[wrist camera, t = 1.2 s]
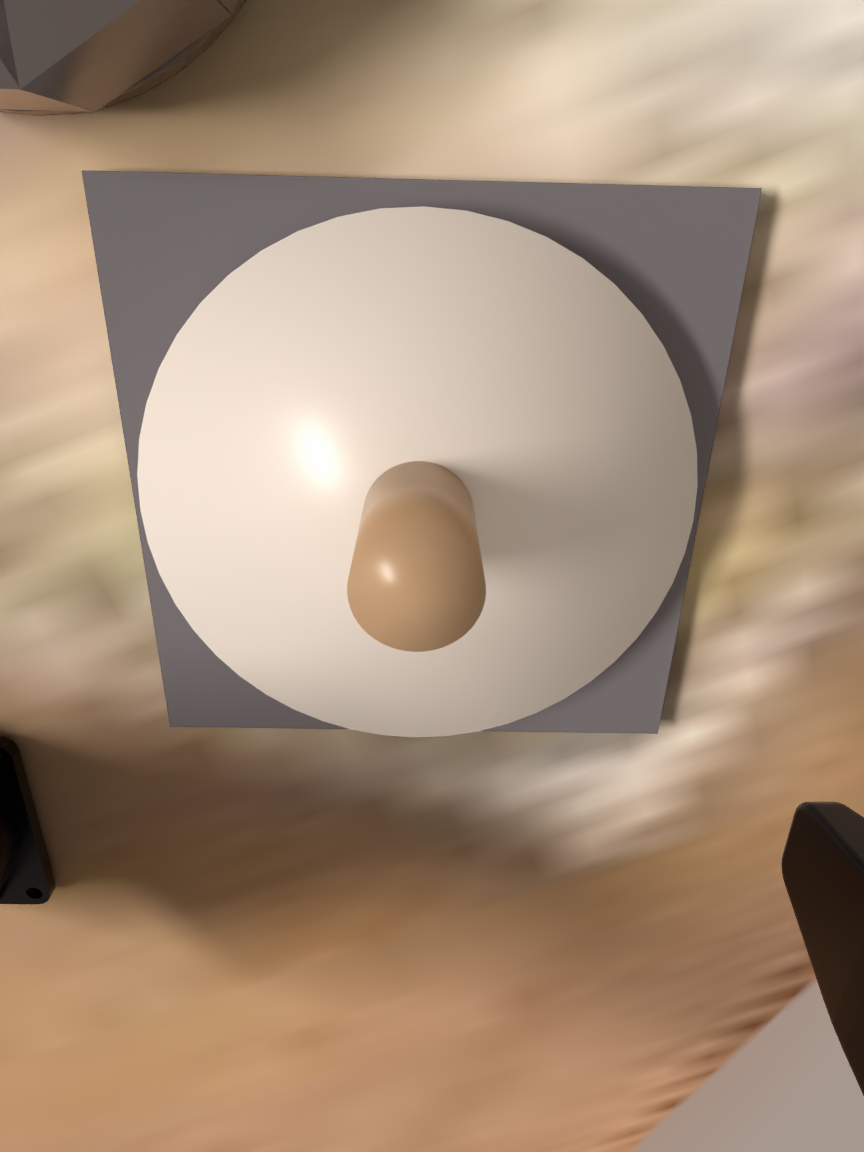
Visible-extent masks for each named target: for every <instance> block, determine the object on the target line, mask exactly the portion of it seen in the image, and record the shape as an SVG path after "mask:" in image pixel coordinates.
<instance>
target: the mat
mask: <svg viewBox="0 0 864 1152" xmlns="http://www.w3.org/2000/svg"><path fill="white" fill-rule="evenodd" d="M82 175H83V182H84V188H85V194H86V201H87V207H88V213H89V219H90V226H91V232H92V238H93V245H94V251H95V257H96V263H97V270H98V276H99V282H100V289H101V295H102V301H103V307H104V314H105V320H106V326H107V333H108V339H109V345H110V351H111V358H112V364H113V370H114V377H115V383H116V389H117V395H118V402H119V408H120V414H121V420H122V427H123V433H124V439H125V446H126V452H127V458H128V464H129V471H130V477H131V483H132V490H133V496H134V502H135V508H136V515H137V521H138V527H139V534H140V540H141V546H142V552H143V559H144V565H145V571H146V578H147V584H148V590H149V596H150V603H151V609H152V615H153V621H154V628H155V634H156V640H157V647H158V653H159V659H160V665H161V672H162V678H163V684H164V691H165V697H166V703H167V709H168V716H169V722H170V727H238V728H306V729H348V728H345V727H341V726H338V725H334V724H331V723H327V722H324V721H321V720H318V719H316V718H314V717H311V716H309V715H306V714H304V713H301V712H299V711H296V710H294V709H292V708H290V707H288V706H286V705H285V704H283V703H281V702H279V701H277V700H275V699H274V698H272V697H270V696H268V695H266V694H265V693H263V692H262V691H260V690H259V689H257V688H256V687H255V686H253V685H252V684H250V683H249V682H247V681H246V680H244V679H243V678H242V677H240V676H239V675H238V674H237V673H236V672H234V671H233V670H232V669H231V668H230V667H229V666H228V665H226V664H225V663H224V662H223V661H222V660H221V659H220V658H218V657H217V656H216V655H215V654H214V653H213V652H212V650H211V649H210V648H209V647H208V646H207V645H206V644H205V643H204V641H203V640H202V639H201V638H200V637H199V636H198V635H197V634H196V633H195V631H194V630H193V629H192V627H191V626H190V625H189V623H188V622H187V620H186V619H185V617H184V616H183V614H182V613H181V612H180V610H179V609H178V607H177V606H176V604H175V603H174V601H173V599H172V597H171V595H170V593H169V591H168V589H167V588H166V586H165V584H164V582H163V580H162V578H161V576H160V574H159V572H158V569H157V566H156V564H155V561H154V558H153V555H152V553H151V550H150V547H149V545H148V541H147V537H146V533H145V528H144V524H143V519H142V515H141V511H140V501H139V489H138V478H137V469H138V451H139V437H140V432H141V427H142V422H143V417H144V412H145V407H146V403H147V400H148V397H149V394H150V391H151V389H152V386H153V383H154V380H155V377H156V375H157V372H158V369H159V367H160V365H161V363H162V361H163V359H164V358H165V356H166V354H167V352H168V350H169V348H170V346H171V344H172V343H173V341H174V339H175V337H176V335H177V334H178V332H179V331H180V329H181V328H182V327H183V325H184V324H185V323H186V321H187V320H188V319H189V317H190V316H191V315H192V313H193V312H194V311H195V309H196V308H197V307H198V305H199V304H200V303H201V302H202V301H203V300H204V299H205V298H206V297H207V296H208V295H209V294H210V293H211V292H212V291H213V290H214V289H215V288H216V287H217V286H218V285H219V284H220V283H221V282H222V281H223V280H224V279H225V278H226V277H227V276H228V275H229V274H230V273H231V272H233V271H234V270H236V269H237V268H238V267H240V266H241V265H242V264H244V263H245V262H246V261H248V260H249V259H250V258H252V257H253V256H255V255H256V254H257V253H259V252H260V251H261V250H263V249H265V248H267V247H269V246H271V245H273V244H274V243H276V242H278V241H280V240H282V239H284V238H286V237H288V236H290V235H291V234H293V233H295V232H297V231H299V230H302V229H305V228H308V227H311V226H313V225H316V224H319V223H322V222H325V221H328V220H330V219H333V218H336V217H339V216H344V215H349V214H354V213H360V212H365V211H370V210H375V209H380V208H399V207H421V206H425V207H435V208H445V209H455V210H466V211H470V212H474V213H478V214H482V215H486V216H490V217H494V218H498V219H502V220H506V221H509V222H512V223H514V224H517V225H519V226H522V227H524V228H526V229H529V230H531V231H534V232H536V233H539V234H541V235H543V236H546V237H548V238H550V239H551V240H553V241H555V242H556V243H558V244H560V245H561V246H563V247H565V248H567V249H568V250H570V251H572V252H573V253H575V254H577V255H578V256H580V257H582V258H583V259H584V260H586V261H587V262H588V263H589V264H591V265H592V266H593V267H594V268H596V269H597V270H598V271H599V272H601V273H602V274H603V275H604V276H605V277H607V278H608V279H609V280H610V281H612V282H613V283H614V284H615V285H616V286H617V287H618V288H619V289H620V290H621V291H622V293H623V294H624V295H625V296H626V297H627V298H628V299H629V300H630V301H631V302H632V303H633V305H634V306H635V307H636V308H637V309H638V310H639V311H640V312H641V313H642V315H643V316H644V318H645V319H646V321H647V322H648V323H649V325H650V326H651V328H652V329H653V331H654V332H655V334H656V335H657V337H658V338H659V340H660V341H661V343H662V344H663V346H664V348H665V350H666V352H667V354H668V356H669V358H670V360H671V362H672V364H673V366H674V368H675V370H676V372H677V375H678V377H679V379H680V381H681V384H682V388H683V391H684V394H685V397H686V400H687V404H688V407H689V410H690V413H691V417H692V424H693V430H694V436H695V442H696V448H697V479H698V487H697V495H696V504H695V512H694V520H693V524H692V528H691V532H690V536H689V540H688V543H687V547H686V551H685V554H684V557H683V559H682V562H681V564H680V567H679V569H678V571H677V574H676V576H675V579H674V581H673V584H672V585H671V587H670V589H669V591H668V593H667V594H666V596H665V598H664V600H663V601H662V603H661V605H660V607H659V609H658V610H657V612H656V613H655V615H654V616H653V617H652V619H651V620H650V621H649V623H648V624H647V626H646V627H645V628H644V630H643V631H642V632H641V634H640V635H639V636H638V638H637V639H636V640H635V641H634V642H633V643H632V644H631V645H630V646H629V647H628V648H627V649H626V650H625V651H624V653H623V654H622V655H621V656H620V657H619V658H618V659H617V660H616V661H615V662H614V663H612V664H611V665H610V666H609V667H608V668H606V669H605V670H604V671H603V672H602V673H600V674H599V675H598V676H597V677H596V678H594V679H593V680H592V681H591V682H589V683H588V684H586V685H585V686H583V687H582V688H580V689H579V690H577V691H576V692H574V693H573V694H571V695H570V696H568V697H566V698H565V699H563V700H561V701H559V702H557V703H555V704H553V705H551V706H549V707H547V708H545V709H543V710H541V711H539V712H537V713H535V714H532V715H530V716H527V717H524V718H522V719H519V720H516V721H514V722H511V723H508V724H505V725H501V726H497V727H493V728H489V729H485V730H482V731H511V732H580V733H648V734H658V729H659V724H660V719H661V713H662V708H663V703H664V698H665V692H666V687H667V682H668V677H669V671H670V666H671V661H672V656H673V650H674V645H675V640H676V635H677V630H678V624H679V619H680V614H681V609H682V603H683V598H684V593H685V588H686V582H687V577H688V572H689V567H690V561H691V556H692V551H693V546H694V541H695V535H696V530H697V525H698V520H699V514H700V509H701V504H702V499H703V493H704V488H705V483H706V478H707V472H708V467H709V462H710V457H711V452H712V446H713V441H714V436H715V431H716V425H717V420H718V415H719V410H720V404H721V399H722V394H723V389H724V384H725V378H726V373H727V368H728V363H729V357H730V352H731V347H732V342H733V336H734V331H735V326H736V321H737V315H738V310H739V305H740V300H741V295H742V289H743V284H744V279H745V274H746V268H747V263H748V258H749V253H750V247H751V242H752V237H753V232H754V226H755V221H756V216H757V211H758V206H759V200H760V195H761V190H762V188H728V187H690V186H652V185H614V184H576V183H538V182H500V181H462V180H424V179H386V178H348V177H309V176H271V175H233V174H195V173H157V172H119V171H82Z"/></svg>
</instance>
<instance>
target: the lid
mask: <svg viewBox="0 0 864 1152" xmlns="http://www.w3.org/2000/svg"><path fill="white" fill-rule="evenodd" d="M137 478H138V489H139V501H140V511H141V515H142V519H143V524H144V528H145V533H146V537H147V541H148V545H149V547H150V550H151V553H152V555H153V558H154V561H155V564H156V566H157V569H158V572H159V574H160V576H161V578H162V580H163V582H164V584H165V586H166V588H167V589H168V591H169V593H170V595H171V597H172V599H173V601H174V603H175V604H176V606H177V607H178V609H179V610H180V612H181V613H182V614H183V616H184V617H185V619H186V620H187V622H188V623H189V625H190V626H191V627H192V629H193V630H194V631H195V633H196V634H197V635H198V636H199V637H200V638H201V639H202V640H203V641H204V643H205V644H206V645H207V646H208V647H209V648H210V649H211V650H212V652H213V653H214V654H215V655H216V656H217V657H218V658H220V659H221V660H222V661H223V662H224V663H225V664H226V665H228V666H229V667H230V668H231V669H232V670H233V671H234V672H236V673H237V674H238V675H239V676H240V677H242V678H243V679H244V680H246V681H247V682H249V683H250V684H252V685H253V686H255V687H256V688H257V689H259V690H260V691H262V692H263V693H265V694H266V695H268V696H270V697H272V698H274V699H275V700H277V701H279V702H281V703H283V704H285V705H286V706H288V707H290V708H292V709H294V710H296V711H299V712H301V713H304V714H306V715H309V716H311V717H314V718H316V719H318V720H321V721H324V722H327V723H331V724H334V725H338V726H341V727H345V728H348V729H352V730H356V731H362V732H368V733H374V734H379V735H387V736H402V737H438V736H451V735H458V734H464V733H471V732H478V731H482V730H485V729H489V728H493V727H497V726H501V725H505V724H508V723H511V722H514V721H516V720H519V719H522V718H524V717H527V716H530V715H532V714H535V713H537V712H539V711H541V710H543V709H545V708H547V707H549V706H551V705H553V704H555V703H557V702H559V701H561V700H563V699H565V698H566V697H568V696H570V695H571V694H573V693H574V692H576V691H577V690H579V689H580V688H582V687H583V686H585V685H586V684H588V683H589V682H591V681H592V680H593V679H594V678H596V677H597V676H598V675H599V674H600V673H602V672H603V671H604V670H605V669H606V668H608V667H609V666H610V665H611V664H612V663H614V662H615V661H616V660H617V659H618V658H619V657H620V656H621V655H622V654H623V653H624V651H625V650H626V649H627V648H628V647H629V646H630V645H631V644H632V643H633V642H634V641H635V640H636V639H637V638H638V636H639V635H640V634H641V632H642V631H643V630H644V628H645V627H646V626H647V624H648V623H649V621H650V620H651V619H652V617H653V616H654V615H655V613H656V612H657V610H658V609H659V607H660V605H661V603H662V601H663V600H664V598H665V596H666V594H667V593H668V591H669V589H670V587H671V585H672V584H673V581H674V579H675V576H676V574H677V571H678V569H679V567H680V564H681V562H682V559H683V557H684V554H685V551H686V547H687V543H688V540H689V536H690V532H691V528H692V524H693V520H694V512H695V504H696V495H697V487H698V479H697V448H696V442H695V436H694V430H693V424H692V417H691V413H690V410H689V407H688V404H687V400H686V397H685V394H684V391H683V388H682V384H681V381H680V379H679V377H678V375H677V372H676V370H675V368H674V366H673V364H672V362H671V360H670V358H669V356H668V354H667V352H666V350H665V348H664V346H663V344H662V343H661V341H660V340H659V338H658V337H657V335H656V334H655V332H654V331H653V329H652V328H651V326H650V325H649V323H648V322H647V321H646V319H645V318H644V316H643V315H642V313H641V312H640V311H639V310H638V309H637V308H636V307H635V306H634V305H633V303H632V302H631V301H630V300H629V299H628V298H627V297H626V296H625V295H624V294H623V293H622V291H621V290H620V289H619V288H618V287H617V286H616V285H615V284H614V283H613V282H612V281H610V280H609V279H608V278H607V277H605V276H604V275H603V274H602V273H601V272H599V271H598V270H597V269H596V268H594V267H593V266H592V265H591V264H589V263H588V262H587V261H586V260H584V259H583V258H582V257H580V256H578V255H577V254H575V253H573V252H572V251H570V250H568V249H567V248H565V247H563V246H561V245H560V244H558V243H556V242H555V241H553V240H551V239H550V238H548V237H546V236H543V235H541V234H539V233H536V232H534V231H531V230H529V229H526V228H524V227H522V226H519V225H517V224H514V223H512V222H509V221H506V220H502V219H498V218H494V217H490V216H486V215H482V214H478V213H474V212H470V211H466V210H455V209H445V208H435V207H425V206H421V207H399V208H380V209H375V210H370V211H365V212H360V213H354V214H349V215H344V216H339V217H336V218H333V219H330V220H328V221H325V222H322V223H319V224H316V225H313V226H311V227H308V228H305V229H302V230H299V231H297V232H295V233H293V234H291V235H290V236H288V237H286V238H284V239H282V240H280V241H278V242H276V243H274V244H273V245H271V246H269V247H267V248H265V249H263V250H261V251H260V252H259V253H257V254H256V255H255V256H253V257H252V258H250V259H249V260H248V261H246V262H245V263H244V264H242V265H241V266H240V267H238V268H237V269H236V270H234V271H233V272H231V273H230V274H229V275H228V276H227V277H226V278H225V279H224V280H223V281H222V282H221V283H220V284H219V285H218V286H217V287H216V288H215V289H214V290H213V291H212V292H211V293H210V294H209V295H208V296H207V297H206V298H205V299H204V300H203V301H202V302H201V303H200V304H199V305H198V307H197V308H196V309H195V311H194V312H193V313H192V315H191V316H190V317H189V319H188V320H187V321H186V323H185V324H184V325H183V327H182V328H181V329H180V331H179V332H178V334H177V335H176V337H175V339H174V341H173V343H172V344H171V346H170V348H169V350H168V352H167V354H166V356H165V358H164V359H163V361H162V363H161V365H160V367H159V369H158V372H157V375H156V377H155V380H154V383H153V386H152V389H151V391H150V394H149V397H148V400H147V403H146V407H145V412H144V417H143V422H142V427H141V432H140V437H139V451H138V469H137Z"/></svg>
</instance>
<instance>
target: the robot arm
mask: <svg viewBox="0 0 864 1152" xmlns="http://www.w3.org/2000/svg"><path fill="white" fill-rule="evenodd" d="M0 754H1V755H2V756H0V904H43V903H45V902H47V901H48V900H49V898H50V896H51V894H52V893H53V891H54V889H55V881H54V877H53V873H52V870H51V866H50V862H49V859H48V855H47V851H46V848H45V844H44V840H43V837H42V833H41V829H40V826H39V822H38V818H37V815H36V811H35V807H34V804H33V800H32V796H31V793H30V789H29V785H28V782H27V778H26V774H25V770H24V767H23V763H22V759H21V756H20V752H19V749H18V747H17V745H16V744H15V743H14V742H13V741H11V740H9V739H7V738H5V737H0ZM782 874H783V879H784V882H785V886H786V889H787V892H788V895H789V898H790V901H791V904H792V907H793V910H794V913H795V916H796V919H797V922H798V925H799V928H800V931H801V934H802V937H803V940H804V943H805V946H806V949H807V952H808V955H809V958H810V961H811V964H812V967H813V970H814V973H815V976H816V979H817V982H818V985H819V987H820V990H821V994H822V997H823V1000H824V1002H825V1005H826V1008H827V1011H828V1013H829V1016H830V1019H831V1022H832V1024H833V1027H834V1029H835V1032H836V1034H837V1036H838V1039H839V1041H840V1043H841V1046H842V1048H843V1051H844V1053H845V1055H846V1057H847V1059H848V1062H849V1064H850V1066H851V1068H852V1071H853V1073H854V1075H855V1077H856V1080H857V1082H858V1084H859V1086H860V1089H861V1091H862V1093H863V1095H864V817H862V816H861V815H859V814H858V813H856V812H855V811H853V810H852V809H850V808H849V807H847V806H845V805H844V804H841V803H838V802H805V803H802V804H800V805H799V806H798V807H797V809H796V811H795V813H794V817H793V820H792V824H791V827H790V831H789V835H788V838H787V842H786V845H785V849H784V852H783V857H782Z"/></svg>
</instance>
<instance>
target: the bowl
mask: <svg viewBox="0 0 864 1152" xmlns="http://www.w3.org/2000/svg"><path fill="white" fill-rule="evenodd" d="M245 1H246V0H0V112H8V113H17V114H27V115H54V114H74V113H79V112H96V111H97V110H99V109H100V108H103V107H107V106H111V105H114V104H116V103H119V102H122V101H124V100H127V99H129V98H132V97H134V96H137V95H140V94H142V93H145V92H147V91H148V90H150V89H152V88H153V87H155V86H157V85H158V84H160V83H162V82H163V81H165V80H167V79H168V78H170V77H172V76H174V75H175V74H177V73H178V72H180V71H181V70H182V69H183V68H184V67H186V66H187V65H188V64H189V63H190V62H192V61H193V60H194V59H195V58H196V57H198V56H199V55H200V54H201V53H202V52H204V51H205V50H206V49H207V48H208V47H209V46H210V45H211V44H212V43H213V42H214V40H215V39H216V38H217V37H218V36H219V35H220V34H221V33H222V31H223V30H224V29H225V28H226V27H227V26H228V25H229V24H230V22H231V21H232V20H233V19H234V18H235V17H236V15H237V14H238V12H239V11H240V9H241V8H242V6H243V5H244V3H245Z"/></svg>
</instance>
